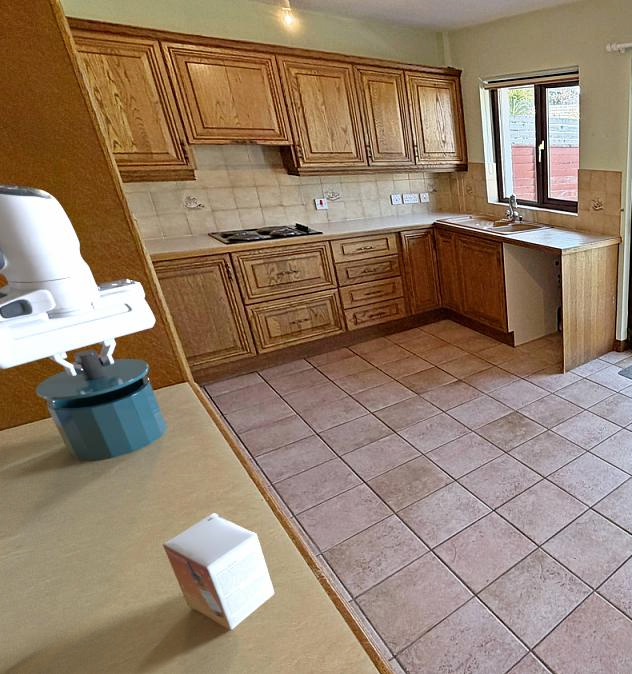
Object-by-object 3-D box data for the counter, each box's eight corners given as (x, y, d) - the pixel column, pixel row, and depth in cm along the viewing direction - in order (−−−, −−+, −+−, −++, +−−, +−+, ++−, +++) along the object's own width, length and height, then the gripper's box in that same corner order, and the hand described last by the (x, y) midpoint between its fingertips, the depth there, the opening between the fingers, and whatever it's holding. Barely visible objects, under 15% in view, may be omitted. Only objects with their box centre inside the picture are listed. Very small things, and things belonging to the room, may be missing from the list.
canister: (56, 450, 83) (30, 398, 79) (143, 415, 94) (124, 368, 89) (96, 471, 79) (71, 418, 74) (182, 432, 89) (165, 383, 85)
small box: (187, 606, 58) (159, 543, 54) (234, 571, 63) (212, 511, 59) (230, 632, 55) (205, 568, 51) (276, 593, 60) (256, 532, 56)
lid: (21, 391, 78) (5, 360, 76) (124, 358, 89) (113, 331, 87) (65, 411, 73) (50, 379, 71) (167, 374, 85) (157, 346, 82)
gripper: (127, 273, 85) (153, 343, 90) (-51, 307, 67) (-5, 391, 73) (148, 278, 82) (173, 350, 88) (-30, 315, 65) (15, 401, 71)
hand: (91, 369), depth 80 cm, fingers closed on lid, 2 cm apart
